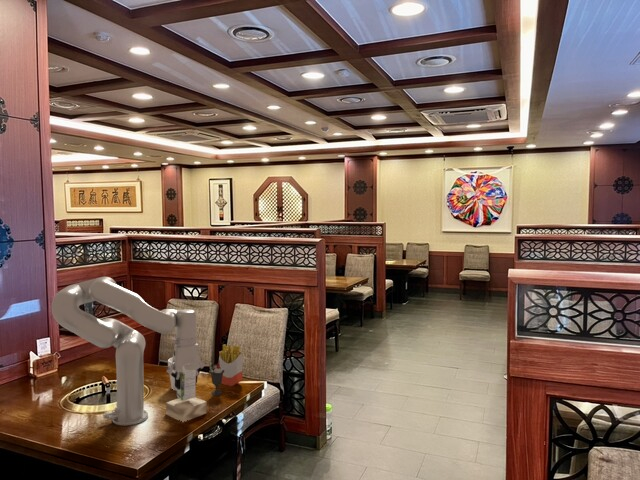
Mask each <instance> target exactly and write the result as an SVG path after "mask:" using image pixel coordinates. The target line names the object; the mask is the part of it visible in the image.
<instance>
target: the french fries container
mask: <svg viewBox="0 0 640 480" xmlns="http://www.w3.org/2000/svg"><path fill="white" fill-rule="evenodd" d="M218 353H219V357H218V362H219V361H220V362H219V364H220V366H221V368H222V369H223V370H225V372H224V373H223V376H222V382H221V384H222V385H225V386H230V387H234V386H235V385H237V384H239V383H240V382H241V381H242V380H243V361H244V359H243V357H244V355H243V351H242V350H240V345H235V344H234V345H232V344H231V343H230V344H222V350H221V351H218Z"/></svg>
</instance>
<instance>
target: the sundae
mask: <svg viewBox="0 0 640 480" xmlns="http://www.w3.org/2000/svg"><path fill="white" fill-rule="evenodd" d="M219 362H220V361H219V360H218V362H217V364H213V367H212V369H210V370H209V371H208V372H209V374H210V377H211V382H212V384H213V386H214V387H215V389H214V391H212V392H211V393H210V395H211V396H220V395H223V391H221V390H219V386H220V385H221V384H222V376H223V373H224V372H225V370H223V369H222V368H221V366H220V364H219Z"/></svg>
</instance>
